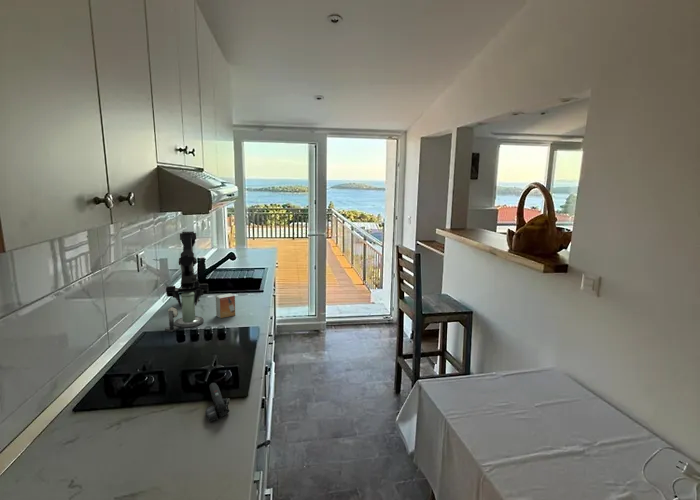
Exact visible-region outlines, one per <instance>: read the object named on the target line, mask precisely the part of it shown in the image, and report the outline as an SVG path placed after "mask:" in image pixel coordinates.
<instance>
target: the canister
mask: <svg viewBox="0 0 700 500" xmlns="http://www.w3.org/2000/svg"><path fill="white" fill-rule="evenodd" d="M194 295H195V294H194V292H185V293H184V292H181V294H180V297H181V298H180V299H181V314H182V317H181V318H183V321H184V322H191V321H194V320H195V316H196V306H195V301H194Z"/></svg>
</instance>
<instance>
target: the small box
mask: <svg viewBox="0 0 700 500" xmlns="http://www.w3.org/2000/svg"><path fill="white" fill-rule="evenodd" d="M215 315H216V317H218V319H224V318H228V317H235V316H236V296H235V294H232V292H231V293H225V294H220V295H216V296H215Z"/></svg>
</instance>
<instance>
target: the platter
mask: <svg viewBox="0 0 700 500" xmlns="http://www.w3.org/2000/svg"><path fill="white" fill-rule="evenodd" d="M204 321H205V320H204V317H202V316H198V315H195V320H194V321H191V322H184V321H183V317H180V318H178V319H176V320H175V321H174V326H176V327H179V329H190V328H194V327H198V326H201V325H203V324H204Z"/></svg>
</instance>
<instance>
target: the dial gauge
mask: <svg viewBox="0 0 700 500" xmlns="http://www.w3.org/2000/svg"><path fill="white" fill-rule="evenodd" d="M167 313H168V324H169V325H168V327H165V328H164V331H165V332H169V333H173V332H176V331H179V329H180V328H179V327H176V326H175V325H174V322H175V321H174V320H175V318H176V317H178V316H179V310H178V309H177V308H176V307H175V306H171V307H169V308H168V310H167Z"/></svg>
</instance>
